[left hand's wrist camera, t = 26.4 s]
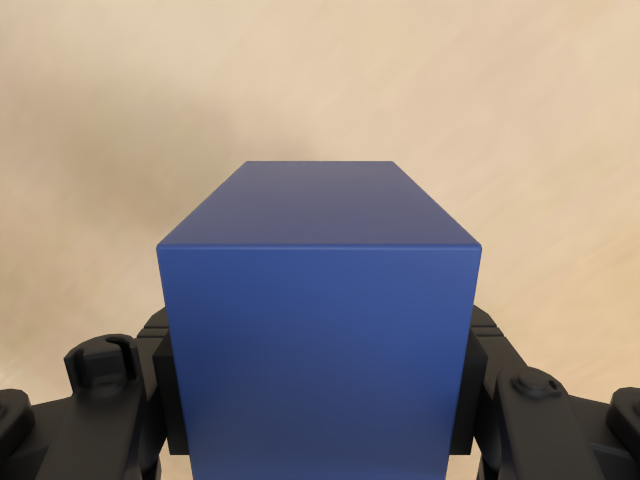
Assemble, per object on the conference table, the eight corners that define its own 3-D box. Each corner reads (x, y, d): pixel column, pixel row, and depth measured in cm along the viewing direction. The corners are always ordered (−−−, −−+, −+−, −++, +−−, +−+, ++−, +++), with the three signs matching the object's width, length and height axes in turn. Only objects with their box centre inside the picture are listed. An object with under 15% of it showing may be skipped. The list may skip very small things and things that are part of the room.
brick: (258, 356, 17) (207, 576, 9) (245, 160, 14) (152, 245, 6) (380, 356, 17) (431, 575, 9) (393, 161, 14) (484, 245, 6)
